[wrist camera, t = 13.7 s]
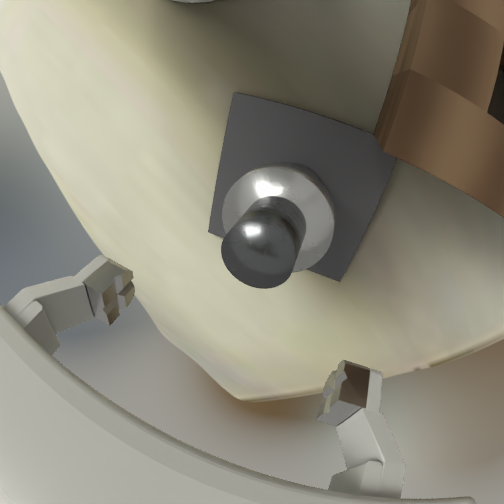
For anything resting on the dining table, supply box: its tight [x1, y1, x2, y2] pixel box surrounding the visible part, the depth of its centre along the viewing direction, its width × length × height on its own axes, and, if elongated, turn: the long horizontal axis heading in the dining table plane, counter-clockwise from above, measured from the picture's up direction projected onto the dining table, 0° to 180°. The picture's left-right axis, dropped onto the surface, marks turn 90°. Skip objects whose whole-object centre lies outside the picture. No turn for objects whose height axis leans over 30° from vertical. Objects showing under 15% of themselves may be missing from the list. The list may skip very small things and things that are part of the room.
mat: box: [208, 92, 397, 282], centre depth 21 cm, size 12×12×1 cm
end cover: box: [221, 162, 336, 289], centre depth 17 cm, size 6×6×9 cm
